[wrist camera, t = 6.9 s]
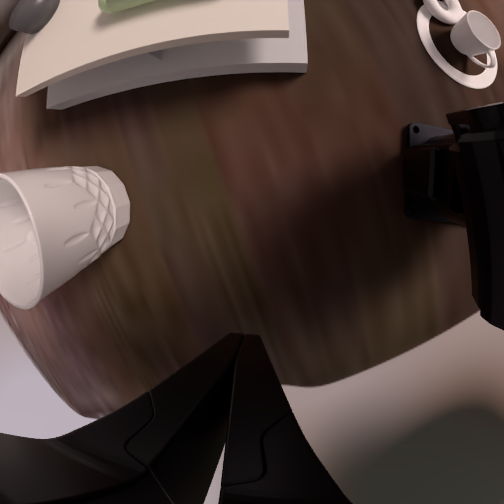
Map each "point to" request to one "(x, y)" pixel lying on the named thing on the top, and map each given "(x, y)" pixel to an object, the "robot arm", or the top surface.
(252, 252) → the top surface
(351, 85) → the top surface
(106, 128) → the top surface
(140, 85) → the instrument base
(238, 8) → the instrument plate
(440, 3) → the teacup and saucer
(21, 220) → the white cup
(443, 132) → the robot arm
